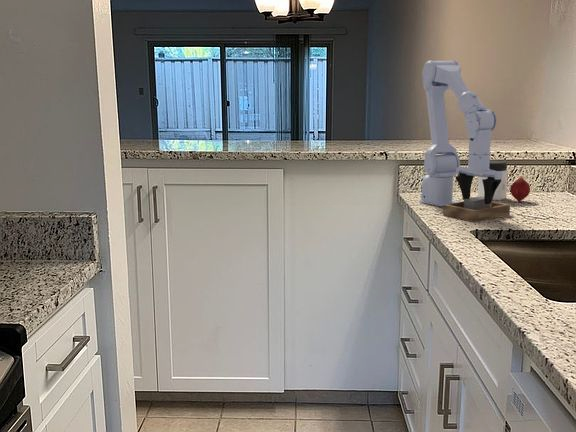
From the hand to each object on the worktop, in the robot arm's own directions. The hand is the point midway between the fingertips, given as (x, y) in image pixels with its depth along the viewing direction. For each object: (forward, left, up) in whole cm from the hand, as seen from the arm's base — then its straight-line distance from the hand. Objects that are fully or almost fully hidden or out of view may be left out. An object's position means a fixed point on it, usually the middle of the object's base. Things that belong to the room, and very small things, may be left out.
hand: (476, 201), depth 166 cm
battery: (0, 0, -3) cm, 3 cm away
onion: (-5, +27, -4) cm, 28 cm away
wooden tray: (0, 0, -4) cm, 4 cm away
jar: (-14, +25, -4) cm, 29 cm away
